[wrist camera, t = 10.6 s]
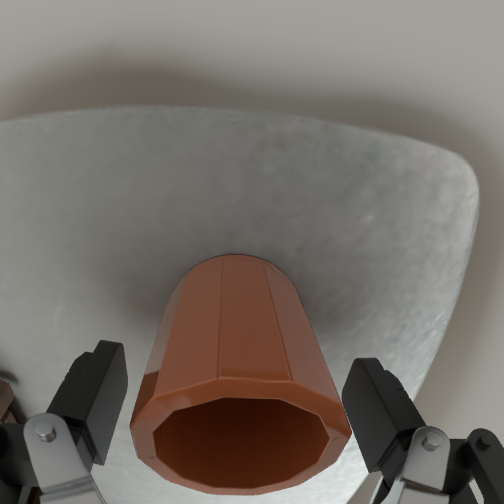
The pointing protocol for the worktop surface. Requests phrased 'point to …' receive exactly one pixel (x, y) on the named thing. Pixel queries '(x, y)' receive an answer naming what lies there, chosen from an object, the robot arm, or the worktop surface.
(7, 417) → the drawer
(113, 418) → the robot arm
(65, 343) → the worktop surface
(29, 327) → the worktop surface
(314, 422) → the cup
